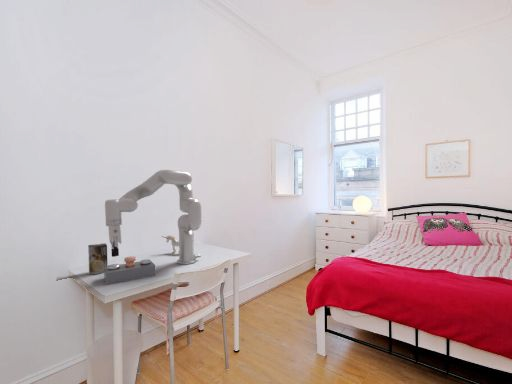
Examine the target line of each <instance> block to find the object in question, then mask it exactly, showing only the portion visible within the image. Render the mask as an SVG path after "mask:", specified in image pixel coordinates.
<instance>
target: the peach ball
mask: <svg viewBox="0 0 512 384" xmlns="http://www.w3.org/2000/svg"><path fill="white" fill-rule="evenodd" d="M136 260H137V259H136V256H126V257H124V262H125V264H126V268H128V267H134V262H135V261H136Z"/></svg>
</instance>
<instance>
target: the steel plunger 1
mask: <svg viewBox="0 0 512 384" xmlns="http://www.w3.org/2000/svg"><path fill="white" fill-rule="evenodd" d="M119 268H120V264H119V263H113V264H109V265H108V270H116V269H119Z"/></svg>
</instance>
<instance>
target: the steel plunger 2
mask: <svg viewBox="0 0 512 384" xmlns="http://www.w3.org/2000/svg"><path fill="white" fill-rule="evenodd" d="M151 261H152V260H151V259H146V258H145V259H142V260H139V262H140V264H141V265H147V264H150V263H151Z"/></svg>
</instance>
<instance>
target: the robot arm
mask: <svg viewBox="0 0 512 384" xmlns="http://www.w3.org/2000/svg"><path fill="white" fill-rule="evenodd" d="M192 180H193V178H192V175H191V174H190V173H189V172H187V171H180V170H173V169H160V170H158V171H156V172H155V173H154V174H153V175H151V176H150V177H148V178H147V179H146V180H145V181H143V182H142V183H141V184H139V185H137V186H135V187H134V188H132V189H131V190H129V191H128V192H126V193H125V194H124V195H122V196H121V197H119V199H107V200H105V202H104V210H105V211H104V214H105V227H107V228H108V240H109V243H110V245H111V249H110V251H111V257H112V258H114V257H119V256H120V255H119V253H120V252H119V251H120V250H119V244H120V245H121V244H122V243H123V242H122V233H121V232H122V231H121V230H122V229H121V226H122V224H123V223H122V222H123V221H122V220H123V219H122V213H131V212H135V211H136V210H137V208H138V207H139V205H138V201H140V200H141V199H143V198H147V197H149V196H152V195H154V194H155V193H156V192H158V190H159V189H161V188H162V187H163V186H165V185H174V186H175V187H176V188H177V189H178V193H179V194H178V196H179V200H178V201H179V210H180V212H183V213H187V214H182V215H180V216H179V217H178V219H177V227H178V241H179V246H178V259H177V260H176V263H177V264H178V265H191V264H194V263H196V262H197V258H201V257H202V255H201V254H196V253H195V234H194V231H197V230H199V229H200V228H201V225H202V206H201V202H200V201H199V200H198V199H196V198H193V197H194V196H193V195H194V194H193V188H192V185H191V183H192Z"/></svg>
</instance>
